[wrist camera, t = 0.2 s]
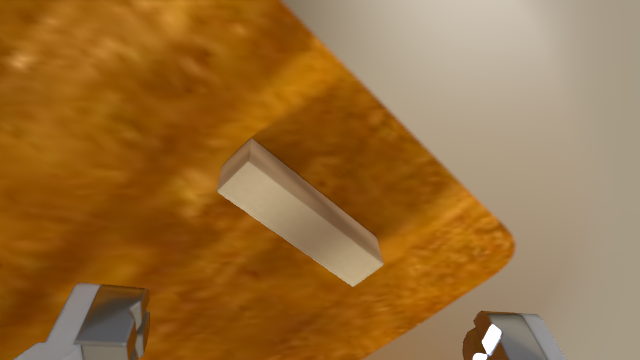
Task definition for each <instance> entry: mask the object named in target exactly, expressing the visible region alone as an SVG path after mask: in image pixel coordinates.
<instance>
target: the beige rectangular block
mask: <svg viewBox="0 0 640 360" xmlns="http://www.w3.org/2000/svg"><path fill="white" fill-rule="evenodd" d="M217 192H218V193H220V194H221V195H223V196H224V197H225V198H227V199H228V200H230V201H231V202H233V203H234V204H235V205H237V206H238V207H240V208H241V209H242V210H244V211H245V212H247V213H248V214H250V215H251V216H252V217H254V218H255V219H257V220H258V221H260V222H261V223H262V224H264V225H265V226H267V227H268V228H270V229H271V230H272V231H274V232H275V233H277V234H278V235H280V236H281V237H282V238H284V239H285V240H287V241H288V242H290V243H291V244H292V245H294V246H295V247H297V248H298V249H300V250H301V251H302V252H304V253H305V254H307V255H308V256H310V257H311V258H312V259H314V260H315V261H317V262H318V263H320V264H321V265H322V266H324V267H325V268H327V269H328V270H330V271H331V272H332V273H334V274H335V275H337V276H338V277H339V278H341V279H342V280H344V281H345V282H347V283H348V284H349V285H351V286H352V287H354V286H355V285H357V284H358V283H359V282H361V281H362V280H363V279H365V278H366V277H368V276H369V275H370V274H372V273H373V272H374V271H376V270H377V269H379V268H380V267H381V266H383V265H384V264H383V260H382V256H381V252H380V248H379V244H378V240H377V237H375V236H374V235H373V234H372V233H370V232H369V231H368V230H367V229H365V228H364V227H363V226H362V225H360V224H359V223H358V222H357V221H355V220H354V219H353V218H352V217H350V216H349V215H348V214H347V213H345V212H344V211H343V210H342V209H340V208H339V207H338V206H336V205H335V204H334V203H333V202H331V201H330V200H329V199H328V198H326V197H325V196H324V195H323V194H321V193H320V192H319V191H318V190H316V189H315V188H314V187H313V186H311V185H310V184H309V183H308V182H306V181H305V180H304V179H303V178H301V177H300V176H299V175H298V174H296V173H295V172H294V171H292V170H291V169H290V168H289V167H287V166H286V165H285V164H284V163H282V162H281V161H280V160H279V159H277V158H276V157H275V156H274V155H272V154H271V153H270V152H269V151H267V150H266V149H265V148H264V147H262V146H261V145H260V144H259V143H257V142H256V141H255V140H254V139H252V138H250V139H249V140H248V141H247V142H246V143H245V144H244V145H243V146H242V147H241V148H240V149H239V150H238V151H237V152H236V153H235V154H234V155H233V156H232V157H231V158H230V159H229V160H228V161H227V162H226V163H225V164H224V165H223V166H222V169H221V174H220V179H219V183H218V188H217Z"/></svg>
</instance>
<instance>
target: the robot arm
mask: <svg viewBox="0 0 640 360" xmlns="http://www.w3.org/2000/svg"><path fill="white" fill-rule="evenodd" d="M148 302H149V290H148V289H146V288H135V287H125V286H114V285H103V284H102V285H100V284H88V283H78V284H77V285H76V286H75V287H74V288H73V289H72V291H71V293H70V295H69V297H68V299H67V301H66V303H65V305H64V307H63V309H62V311H61V313H60V315H59V317H58V318H57V320H56V322H55V324H54V326H53V328H52V330H51V332H50V334H49V336H48V338H47V340H46V342H45V343H36V344H35V345H33V346H32V347H30V348H29V349H28V350H26V351H25V352H23V353H22V354H20V355H19V356H18V357H16V358H15V359H13V360H138V359H139V358H140V357H141V356H142V355H143V354H144V352H145V348H146V344H147V340H148V334H149V328H150V313H149V312H148V311H147V310H146V309H147V306H148ZM474 324H475V326H476V327H475V328H474V329H472V330H470V331H469V332H467V334H466V337H465V339H464V341H463V357H464V360H566V358H565V356H564V355H563V353H562V351H561V350H560V348H559V346H558V345H557V343H556V341H555V340H554V338H553V336H552V335H551V333H550V331H549V330H548V328H547V326H546V325H545V323H544V321H543V320H542V318H541V317H540V316H538V315H537V314H523V313H509V312H508V313H507V312H489V311H481V312H479V313H478V314H477V315H476V317H475V319H474Z"/></svg>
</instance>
